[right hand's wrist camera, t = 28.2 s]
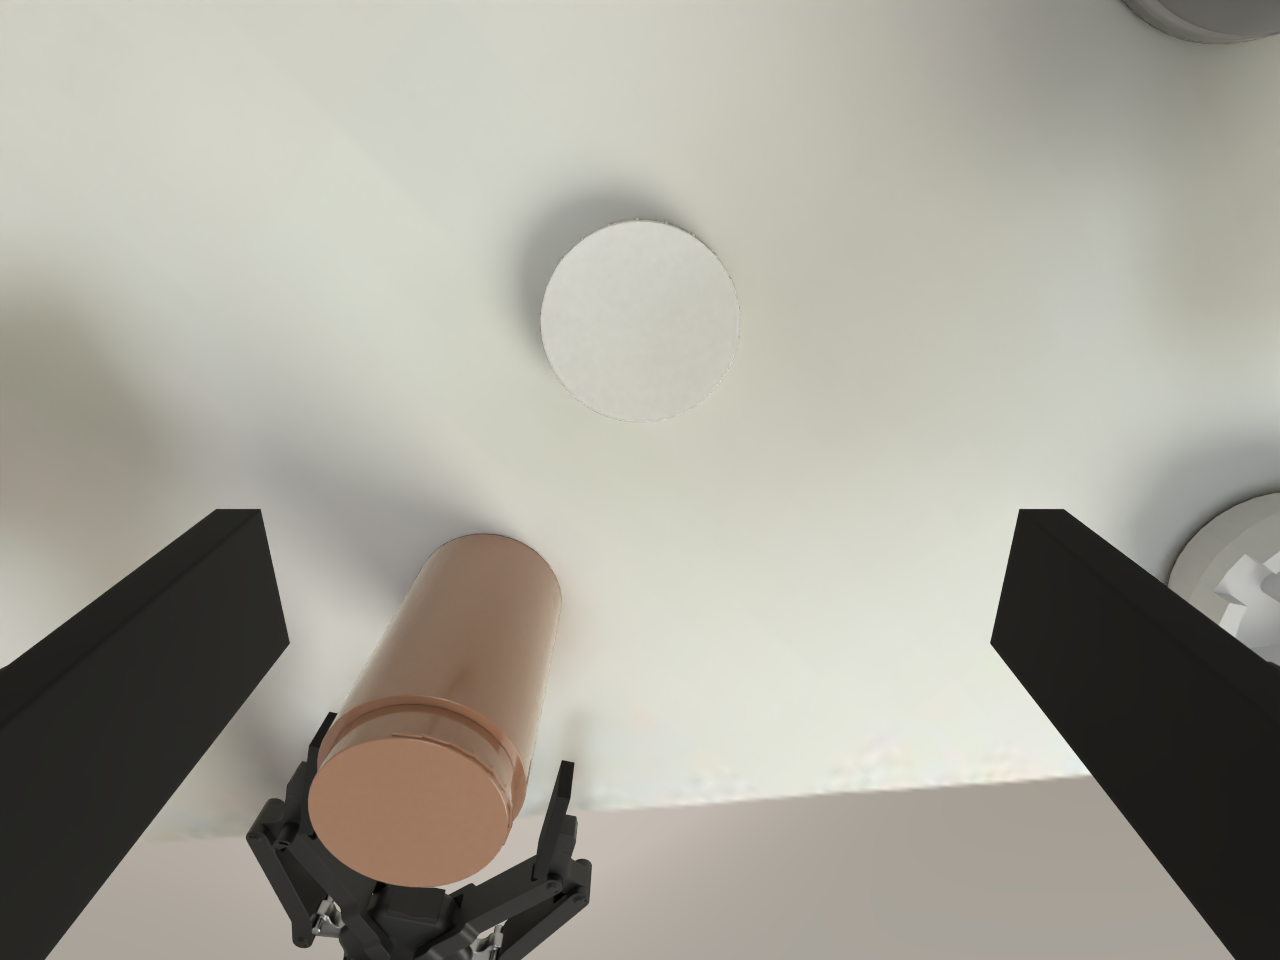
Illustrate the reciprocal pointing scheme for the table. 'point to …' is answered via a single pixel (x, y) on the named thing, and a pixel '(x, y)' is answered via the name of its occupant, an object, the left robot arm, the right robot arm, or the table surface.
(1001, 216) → the table surface
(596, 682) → the table surface
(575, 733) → the table surface
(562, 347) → the lid
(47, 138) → the table surface
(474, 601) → the jar
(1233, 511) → the flag stand
